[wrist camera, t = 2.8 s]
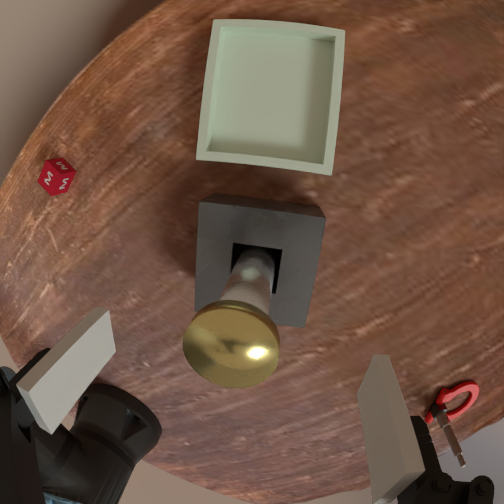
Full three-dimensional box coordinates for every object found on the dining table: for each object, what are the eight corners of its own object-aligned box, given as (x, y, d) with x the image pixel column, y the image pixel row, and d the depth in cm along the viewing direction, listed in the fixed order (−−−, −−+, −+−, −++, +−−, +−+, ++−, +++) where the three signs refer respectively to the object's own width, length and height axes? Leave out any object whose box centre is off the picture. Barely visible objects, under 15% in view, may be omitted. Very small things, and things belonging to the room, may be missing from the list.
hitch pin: (234, 269, 30) (184, 378, 15) (238, 222, 29) (182, 303, 13) (281, 275, 30) (271, 393, 15) (288, 229, 28) (286, 320, 13)
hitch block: (208, 288, 31) (194, 311, 27) (214, 193, 28) (199, 201, 23) (302, 301, 30) (304, 328, 26) (319, 206, 27) (325, 218, 22)
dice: (62, 157, 29) (46, 159, 26) (76, 171, 29) (60, 174, 26) (53, 178, 29) (37, 181, 27) (67, 191, 30) (51, 196, 27)
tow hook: (484, 376, 32) (441, 383, 32) (519, 431, 20) (475, 449, 20) (462, 412, 35) (420, 420, 35) (489, 466, 23) (443, 483, 23)
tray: (203, 159, 27) (196, 159, 25) (219, 29, 22) (213, 19, 20) (327, 173, 26) (331, 175, 24) (340, 39, 22) (345, 30, 19)
